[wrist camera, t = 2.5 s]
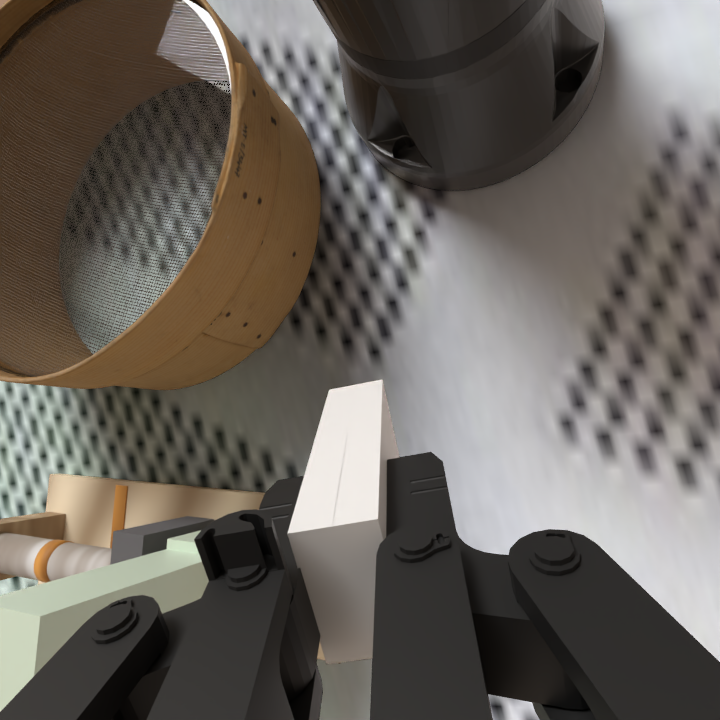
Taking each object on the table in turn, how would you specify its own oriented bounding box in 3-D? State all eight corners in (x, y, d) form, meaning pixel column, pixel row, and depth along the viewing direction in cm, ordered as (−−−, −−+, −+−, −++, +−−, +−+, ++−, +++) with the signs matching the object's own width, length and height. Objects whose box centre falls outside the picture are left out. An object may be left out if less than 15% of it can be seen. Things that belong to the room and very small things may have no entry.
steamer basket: (382, 93, 36) (302, -43, 26) (252, 448, 37) (122, 456, 26) (120, 51, 46) (-16, -60, 35) (20, 334, 46) (-143, 307, 36)
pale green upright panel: (279, 526, 32) (42, 599, 18) (272, 635, 31) (20, 802, 17) (235, 521, 33) (-22, 586, 19) (228, 626, 32) (-45, 777, 18)
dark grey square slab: (214, 519, 34) (143, 535, 28) (206, 622, 33) (133, 659, 27) (187, 516, 34) (113, 531, 29) (179, 616, 34) (102, 652, 28)
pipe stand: (351, 500, 33) (301, 515, 27) (345, 658, 32) (290, 711, 26) (59, 473, 42) (-31, 480, 36) (45, 597, 41) (-50, 626, 35)
